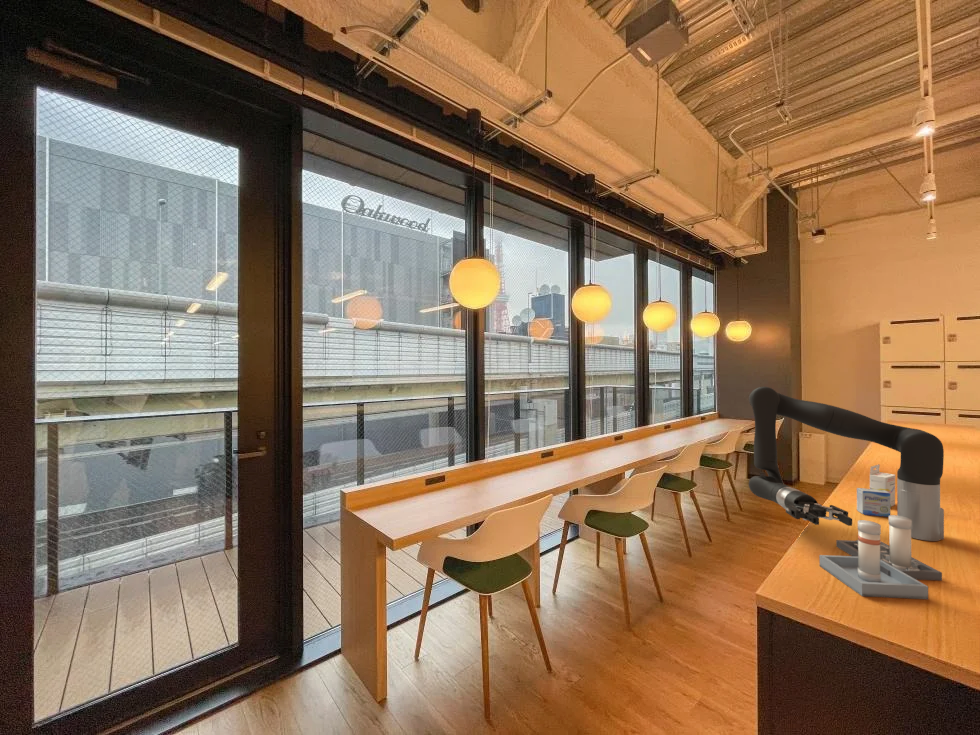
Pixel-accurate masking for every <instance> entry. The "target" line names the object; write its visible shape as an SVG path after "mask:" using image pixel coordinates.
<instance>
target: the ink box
mask: <svg viewBox="0 0 980 735" xmlns="http://www.w3.org/2000/svg"><path fill="white" fill-rule="evenodd" d="M880 466H881V465H880V464H876V465H873V466H870V469H869V489H876V490H885V491H887V492H889V493H890V508H891V507H894V506H895V505H896V474H892V473H888V472H883V471H882V472H880Z"/></svg>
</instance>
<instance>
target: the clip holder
mask: <svg viewBox="0 0 980 735" xmlns="http://www.w3.org/2000/svg"><path fill="white" fill-rule="evenodd" d="M835 541H836V548H837V549H839V550H841V551H843V552H845V554H848V556H858V539H856V540H849V539H848V540H846V539H844V540H843V539H836V540H835ZM880 560H882V561H884V562H886V563H888V564H889V565H891V566H892V563H890V562H889V560H890V548H889V544H887V543H886V542H884V541H881V540H880ZM911 564H912V568H910V567H906V569H898V570H900V571H902V572H903V573H905V574H907V575H909V576H910V577H912V578H914V579H916V580H918V581H920V580H922V581H943V572H941V571H939V570H938V569H936V568H934V567H932V566H930V565H928V564H926V563H924V562H923V561H921V560H918V559H916V558H915V557H912V556H911ZM880 571H881V572H883V573H885V574H886V575H888V576H890V570H888V569H886V568H885V567H883V566H881V565H880Z"/></svg>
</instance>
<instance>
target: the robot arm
mask: <svg viewBox="0 0 980 735" xmlns="http://www.w3.org/2000/svg"><path fill="white" fill-rule="evenodd" d="M748 402H749V405H750V406H751V407H752V411H753V417H754V437H753V438H754V439H753V459H754V460H753V464H754V467H755V468H756V469H759V470H763V471H765V472H766V474H767V475H754V476H752V477H750V479H749V480H748V487H749V490H750V491H751V493H752V494H754V495H755V496H756V497H759V498H762V499H764V500H768V501H770V502H771V501H772V502H774V503H776V504H777V505H778V506H781V507H782V508H783V509H784V510H785V513H786V514H787V515H789V516H790V517H792V518H793V519H795V520H801V519H802V520H803V521H808V522H810V523H811V524H813V525H815V526H819V525H820V519H825V520H828V521H833V520H835V521H838V522H841V523H842V524H844V525H846V526H848V527H852V526H853V518H851V517H849V512H848V510H845V509H843V508H840V507H838V506H836V505H833V504H829V506H825V505H822V504H820V503H818V501H817V500H816V499H815V498H814V497H813V496H812V495H810V494H808V493H806V492H804V491H801V490H800V489H797V488H795V487H791V486H789V485H787V484H785V482H784V481H783V478H782V475H781V472H780V469H779V465H778V448H777V447H778V446H777V445H778V444H777V432H776V430H777V429H776V428H777V427H776V425H777V424H776V422H777V416H782V417H786V418H789V419H791V420H794V421H797V422H799V423H802V424H804V425H807V426H809V427H812V428H815V429H817V430H820V431H823V432H826V433H829V434H831V435H832V434H833V435H837V436H840V437H844V438H850V439H854V440H861V441H865V442H866V441H867V442H871V443H874V444H877V445H881V446H883V447H886V448H889V449H891V450H893V451H896V452H898V453H900V466H899V468H898V469H897V474H896V475H897V478H896V479H897V480H896V482H897V483H896V486H897V487H896V488H897V489H896V492H897V495H896V496H897V497H896V500H897V504H896V505H897V506H896V507H897V508H896V510H897V513H896V515H897V516H903V517H906V518H909V519H911V520H912V529H911V539H912V538H913V539H916V540H921V541H927V542H938V541H940V540H945V510H944V508H943V507H941V478H942V477H943V474H944V460H945V459H944V455H945V454H944V452H945V450H944V446H943V443H942V441H941V439H940V438H938V437H937V436H936V435H934V434H932V433H930V432H927V431H924V430H922V429H918V428H912V427H907V426H901V425H898V424H897V425H896V424H893V423H888V422H887V423H886V422H883V421H880V420H877V419H875V418H871V417H868V416H867V415H864V414H861V413H858V412H854V411H852V410H849V409H845V408H843V407H839V406H835V405H832V404H827V403H822V402H816V401H809V400H804V399H803V400H802V399H797V398H794V397H791V396H788V395H786V394H785V395H784V394H782V393H779V392H777V391H776V390H775V389H774V388H772V387H769V386H759V387H756V388H755V389H753V390H752V391H751V392H750V393H749V395H748ZM827 513H828V516H827Z"/></svg>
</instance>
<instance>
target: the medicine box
mask: <svg viewBox="0 0 980 735" xmlns="http://www.w3.org/2000/svg"><path fill="white" fill-rule="evenodd" d="M856 511H857V512H858V513H860V514H861V515H863V514H864V515H863V516H874V517H882V516H883V518H889V515H891V507H890V493H889V492H887V491H885V490H876V489H870V488H863V487H856Z"/></svg>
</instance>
